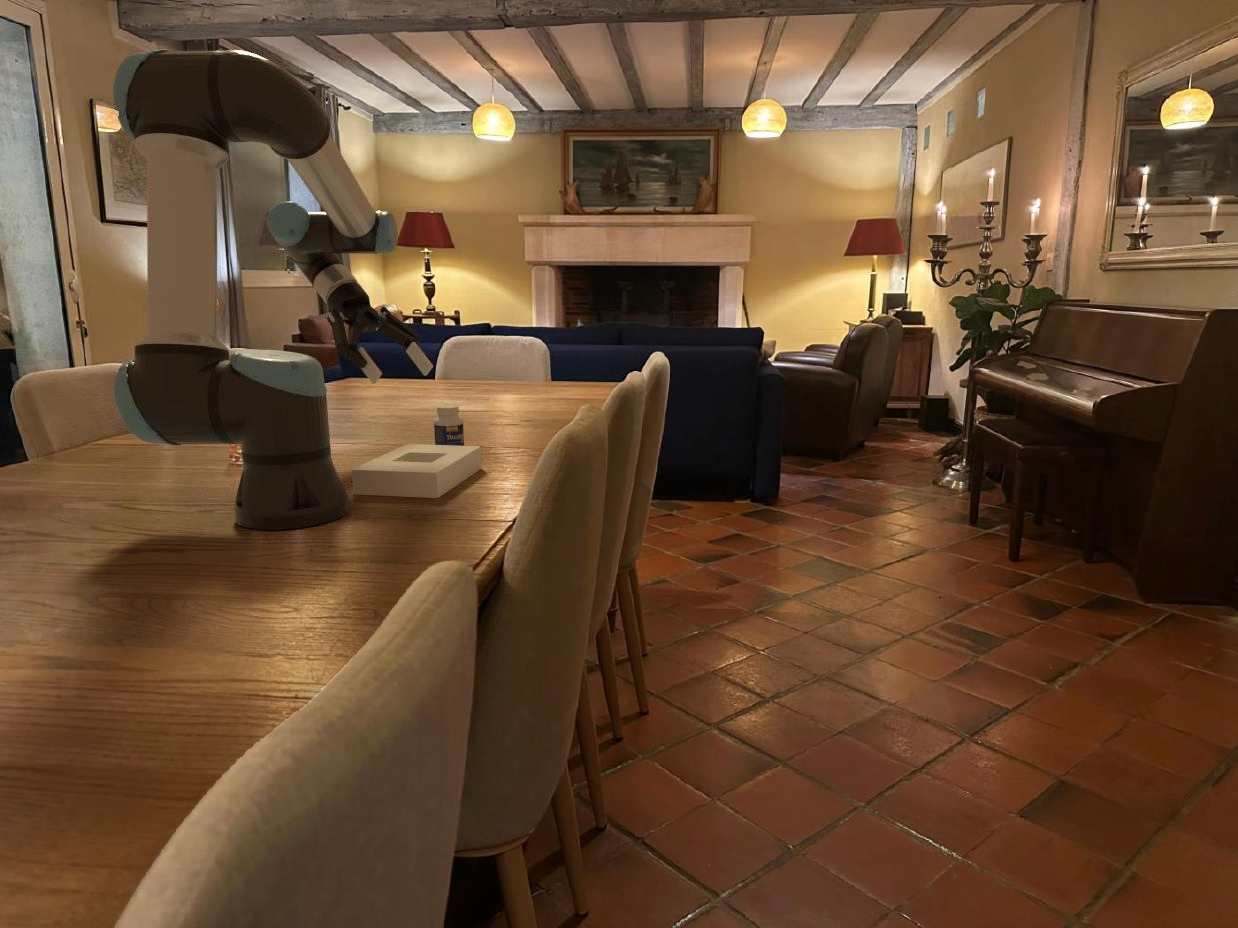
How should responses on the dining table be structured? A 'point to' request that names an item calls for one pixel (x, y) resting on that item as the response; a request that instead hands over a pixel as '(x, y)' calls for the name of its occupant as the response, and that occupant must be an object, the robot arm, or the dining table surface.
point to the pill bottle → (448, 426)
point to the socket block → (417, 471)
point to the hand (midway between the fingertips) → (404, 374)
